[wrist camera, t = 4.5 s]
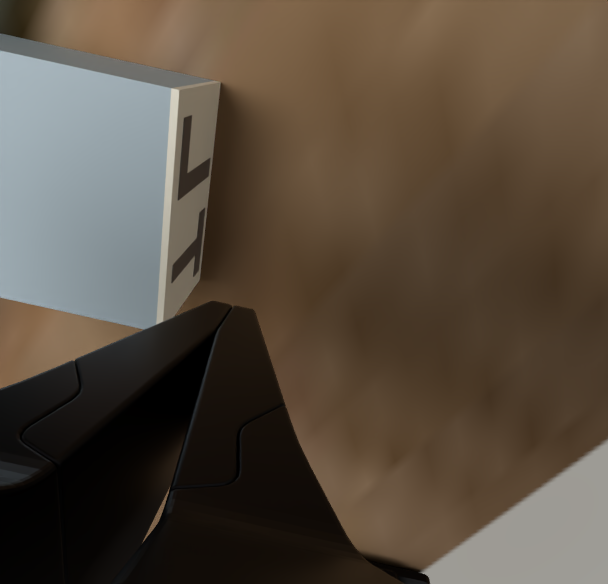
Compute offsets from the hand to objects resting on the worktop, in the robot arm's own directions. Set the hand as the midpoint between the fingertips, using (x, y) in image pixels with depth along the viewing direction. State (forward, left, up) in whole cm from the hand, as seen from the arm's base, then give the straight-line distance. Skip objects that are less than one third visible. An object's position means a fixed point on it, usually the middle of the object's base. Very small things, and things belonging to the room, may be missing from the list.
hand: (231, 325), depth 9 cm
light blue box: (0, +3, -6) cm, 7 cm away
